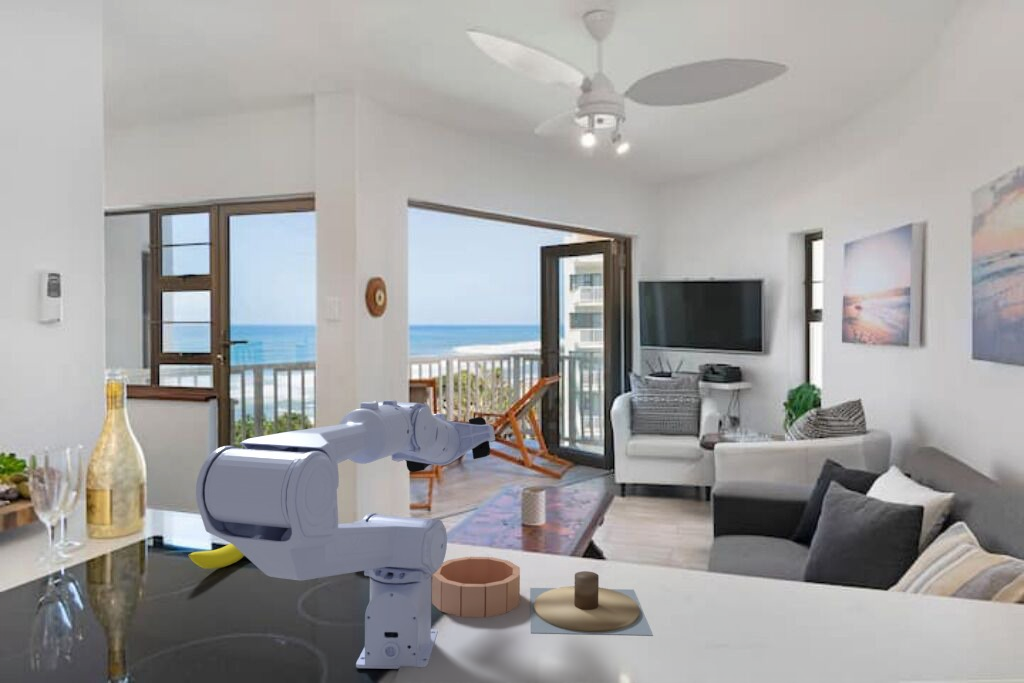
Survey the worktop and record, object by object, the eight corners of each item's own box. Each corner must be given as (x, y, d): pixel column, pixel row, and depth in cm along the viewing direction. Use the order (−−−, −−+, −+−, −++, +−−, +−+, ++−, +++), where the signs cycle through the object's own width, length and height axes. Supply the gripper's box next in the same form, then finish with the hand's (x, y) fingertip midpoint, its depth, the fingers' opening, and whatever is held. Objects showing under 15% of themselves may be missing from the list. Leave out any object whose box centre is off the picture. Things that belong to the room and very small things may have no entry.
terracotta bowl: (518, 621, 88) (519, 587, 88) (427, 620, 88) (427, 585, 88) (519, 587, 100) (520, 557, 100) (439, 586, 100) (439, 556, 100)
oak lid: (647, 633, 84) (648, 596, 84) (534, 631, 84) (534, 594, 84) (630, 590, 98) (631, 559, 98) (533, 589, 98) (533, 557, 98)
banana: (179, 587, 99) (179, 544, 99) (250, 548, 118) (250, 511, 118) (197, 589, 99) (197, 545, 99) (265, 549, 117) (265, 512, 117)
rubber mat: (652, 639, 83) (652, 635, 83) (530, 637, 84) (530, 632, 84) (633, 593, 98) (633, 589, 98) (530, 591, 99) (530, 587, 99)
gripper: (476, 395, 88) (503, 414, 101) (373, 419, 91) (413, 434, 103) (484, 449, 86) (511, 461, 98) (379, 472, 88) (419, 480, 101)
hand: (461, 450), depth 101 cm, fingers open, 7 cm apart
